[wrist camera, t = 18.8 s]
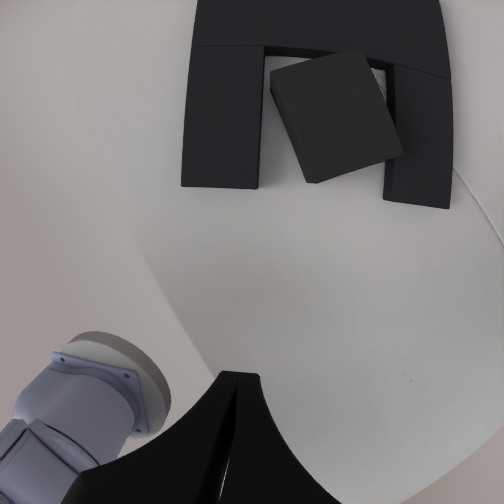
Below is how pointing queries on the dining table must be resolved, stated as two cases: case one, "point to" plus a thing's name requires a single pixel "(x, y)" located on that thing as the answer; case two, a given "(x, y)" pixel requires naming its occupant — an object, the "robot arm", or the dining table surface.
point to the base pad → (314, 46)
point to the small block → (334, 115)
